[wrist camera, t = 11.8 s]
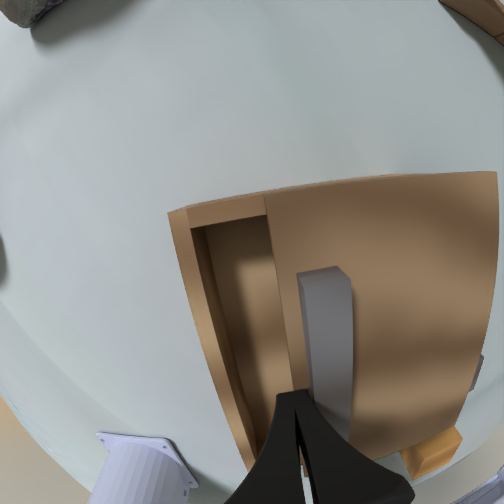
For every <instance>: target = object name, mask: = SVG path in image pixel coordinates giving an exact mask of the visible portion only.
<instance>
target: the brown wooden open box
mask: <svg viewBox="0 0 504 504" xmlns="http://www.w3.org/2000/svg"><path fill="white" fill-rule="evenodd" d="M412 175H424V174H390V175H380V176H370V177H361V178H352V179H344V180H336V181H328V182H320V183H313V184H306V185H299V186H293V187H286V188H280V189H274V190H267V191H262V192H256V193H250V194H244V195H239V196H233V197H228V198H223V199H218V200H213V201H208V202H203V203H198V204H193V205H188V206H185V207H183V208H180V209H177V210H174V211H172V212H169V213H168V218H169V223H170V227H171V232H172V236H173V241H174V245H175V249H176V254H177V258H178V262H179V266H180V270H181V274H182V278H183V282H184V286H185V289H186V293H187V297H188V301H189V304H190V308H191V311H192V315H193V319H194V322H195V325H196V329H197V332H198V336H199V339H200V342H201V345H202V349H203V352H204V355H205V358H206V361H207V364H208V367H209V370H210V373H211V376H212V379H213V382H214V385H215V388H216V391H217V394H218V397H219V400H220V402H221V405H222V408H223V411H224V413H225V416H226V419H227V421H228V424H229V427H230V429H231V432H232V434H233V437H234V440H235V442H236V445H237V447H238V450H239V452H240V454H241V457H242V459H243V462H244V464H245V466H246V469H247V471H248V472H249V471H250V470H251V468H252V466H253V465H254V463H255V461H256V459H257V458H258V456H259V454H260V452H261V449H262V447H263V445H264V443H265V440H266V437H267V435H268V432H269V429H270V426H271V423H272V419H273V415H274V411H275V405H276V395H277V394H278V393H284V392H289V391H293V384H292V377H291V369H290V362H289V355H288V348H287V341H286V334H285V328H284V321H283V314H282V308H281V301H280V295H279V288H278V282H277V276H276V269H275V263H274V257H273V251H272V245H271V239H270V233H269V227H268V221H267V215H266V209H265V203H264V198H263V194H269V193H275V192H282V191H288V190H294V189H301V188H308V187H315V186H322V185H329V184H337V183H345V182H353V181H362V180H370V179H380V178H390V177H400V176H412ZM300 465H303V463H302V455H301V448H300Z"/></svg>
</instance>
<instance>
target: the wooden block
mask: <svg viewBox="0 0 504 504" xmlns="http://www.w3.org/2000/svg"><path fill="white" fill-rule="evenodd" d="M439 1H440V2H442V3H444V4H446V5H447V6H449V7H451V8H452V9H454V10H456V11H457V12H459V13H460V14H462V15H463V16H465V17H467V18H468V19H470V20H471V21H472V22H474V23H475V24H477V25H478V26H480V27H481V28H482V29H484V30H485V31H486V32H488V33H489V34H490V35H492V36H494V37H495V39H496V40H497V41H499V42H500V43H501V44H502V45H504V5H503V4H502V3H501V2H500V1H499V0H439Z"/></svg>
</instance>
